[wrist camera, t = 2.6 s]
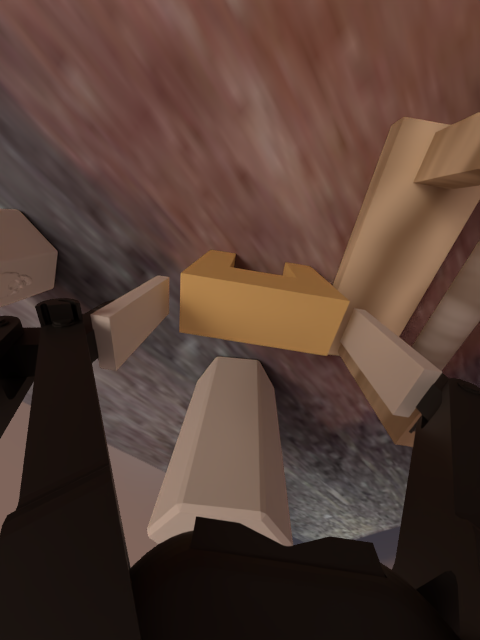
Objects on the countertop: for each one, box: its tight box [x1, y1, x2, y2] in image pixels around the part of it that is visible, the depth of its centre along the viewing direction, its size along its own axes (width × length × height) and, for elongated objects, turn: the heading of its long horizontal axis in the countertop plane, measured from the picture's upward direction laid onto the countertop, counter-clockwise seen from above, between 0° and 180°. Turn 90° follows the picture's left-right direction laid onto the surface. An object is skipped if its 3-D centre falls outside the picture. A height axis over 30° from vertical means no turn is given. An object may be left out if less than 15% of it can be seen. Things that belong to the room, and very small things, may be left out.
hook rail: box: [328, 112, 480, 447], centre depth 15 cm, size 8×20×12 cm, turn 171°
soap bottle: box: [147, 357, 293, 546], centre depth 18 cm, size 10×9×22 cm
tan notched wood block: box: [179, 250, 350, 356], centre depth 17 cm, size 10×4×10 cm, turn 81°
